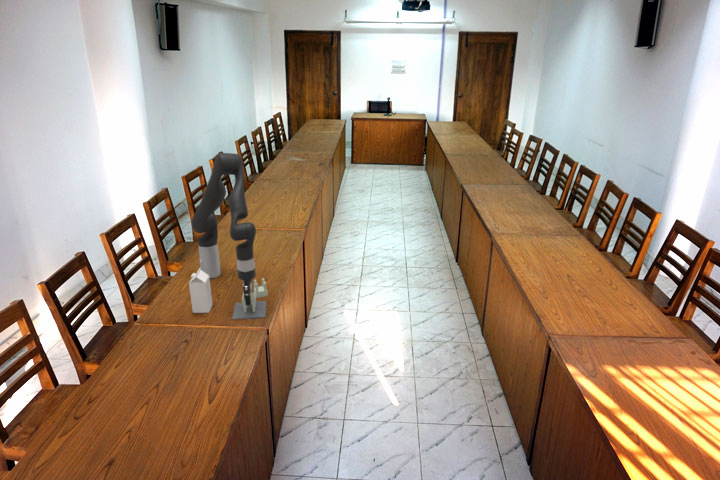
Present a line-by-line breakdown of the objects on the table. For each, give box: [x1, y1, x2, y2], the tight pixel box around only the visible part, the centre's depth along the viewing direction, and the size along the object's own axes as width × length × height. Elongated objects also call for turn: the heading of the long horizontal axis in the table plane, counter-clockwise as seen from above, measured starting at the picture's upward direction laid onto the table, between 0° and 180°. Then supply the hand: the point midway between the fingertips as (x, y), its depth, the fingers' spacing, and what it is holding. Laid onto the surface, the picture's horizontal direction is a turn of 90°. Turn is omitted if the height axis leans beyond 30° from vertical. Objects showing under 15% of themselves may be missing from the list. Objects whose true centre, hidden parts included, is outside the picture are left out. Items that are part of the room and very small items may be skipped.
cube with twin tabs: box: [241, 291, 257, 313], centre depth 225 cm, size 6×6×7 cm
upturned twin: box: [252, 278, 269, 299], centre depth 239 cm, size 6×6×7 cm
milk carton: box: [188, 267, 213, 314], centre depth 224 cm, size 7×7×19 cm
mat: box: [232, 300, 267, 321], centre depth 226 cm, size 14×14×1 cm
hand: (249, 300), depth 224 cm, fingers open, 8 cm apart
